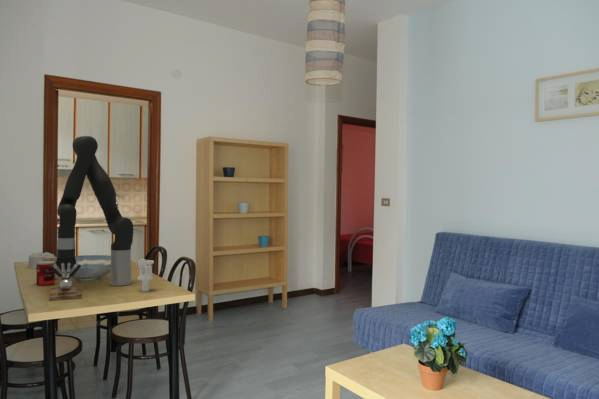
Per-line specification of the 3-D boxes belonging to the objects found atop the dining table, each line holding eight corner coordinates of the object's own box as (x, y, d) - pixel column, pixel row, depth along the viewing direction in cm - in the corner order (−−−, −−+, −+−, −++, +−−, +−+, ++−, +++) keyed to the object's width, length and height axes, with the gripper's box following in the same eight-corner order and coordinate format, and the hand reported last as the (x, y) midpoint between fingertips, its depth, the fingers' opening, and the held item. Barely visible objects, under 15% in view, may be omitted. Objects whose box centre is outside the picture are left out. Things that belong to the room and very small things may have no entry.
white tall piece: (134, 291, 213) (134, 258, 213) (146, 288, 219) (147, 257, 219) (143, 293, 209) (144, 260, 209) (156, 290, 215) (156, 258, 215)
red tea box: (59, 279, 237) (59, 256, 237) (43, 281, 231) (43, 257, 231) (54, 278, 241) (55, 255, 241) (38, 279, 235) (39, 256, 235)
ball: (72, 288, 209) (72, 277, 209) (72, 290, 204) (72, 279, 204) (59, 289, 207) (59, 278, 207) (59, 291, 202) (59, 280, 202)
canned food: (40, 283, 227) (41, 260, 227) (57, 283, 228) (57, 260, 228) (33, 286, 220) (33, 263, 220) (50, 286, 221) (50, 263, 220)
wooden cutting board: (80, 289, 215) (80, 286, 214) (81, 298, 197) (81, 294, 197) (51, 291, 209) (51, 288, 209) (49, 300, 191) (49, 297, 191)
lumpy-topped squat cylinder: (27, 267, 274) (27, 252, 273) (51, 265, 283) (51, 251, 282) (32, 269, 266) (32, 254, 266) (56, 267, 275) (56, 252, 275)
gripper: (82, 246, 216) (81, 283, 216) (50, 247, 210) (49, 285, 211) (82, 248, 209) (81, 286, 210) (49, 249, 204) (48, 288, 204)
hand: (65, 285), depth 210 cm, fingers closed
